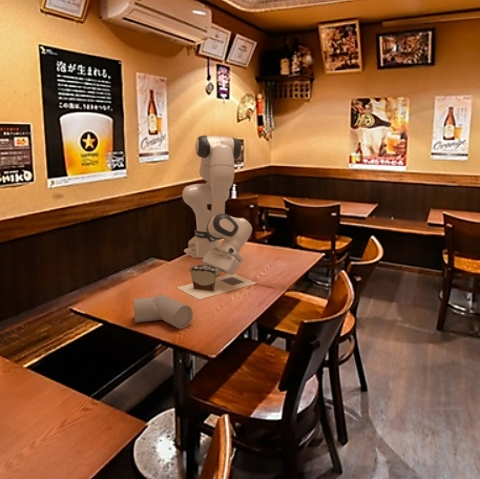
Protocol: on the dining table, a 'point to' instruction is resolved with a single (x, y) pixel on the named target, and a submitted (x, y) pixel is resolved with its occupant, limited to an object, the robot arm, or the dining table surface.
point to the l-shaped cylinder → (163, 311)
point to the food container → (203, 277)
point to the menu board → (218, 286)
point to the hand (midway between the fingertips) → (210, 276)
